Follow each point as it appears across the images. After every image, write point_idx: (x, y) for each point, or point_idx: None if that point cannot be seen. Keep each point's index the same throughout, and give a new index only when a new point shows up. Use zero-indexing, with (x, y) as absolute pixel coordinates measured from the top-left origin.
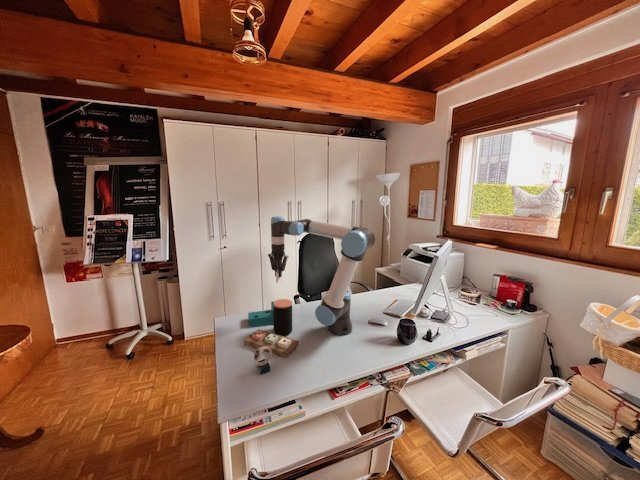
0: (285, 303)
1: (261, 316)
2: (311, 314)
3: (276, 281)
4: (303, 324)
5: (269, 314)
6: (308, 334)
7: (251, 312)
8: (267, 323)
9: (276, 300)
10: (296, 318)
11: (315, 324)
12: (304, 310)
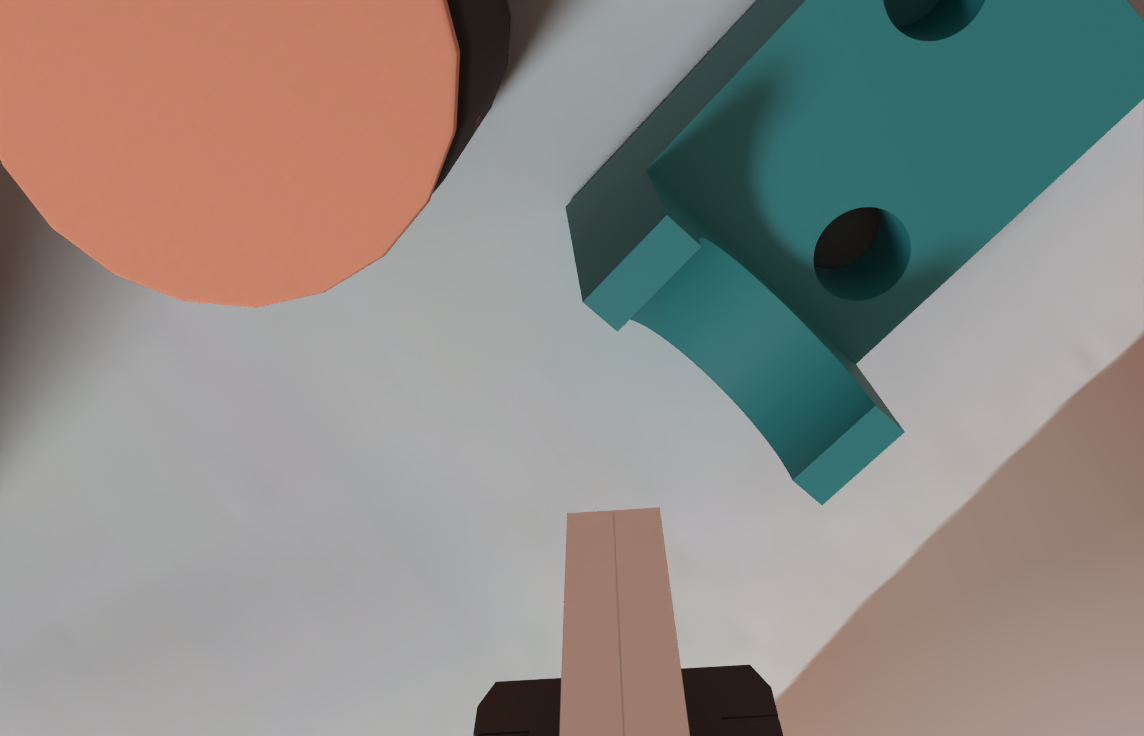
0: (122, 73)
1: (841, 43)
2: (340, 642)
3: (643, 526)
4: (255, 361)
5: (761, 187)
6: None
7: (1127, 101)
8: (709, 61)
9: (439, 101)
10: (450, 451)
11: (116, 443)
12: None
